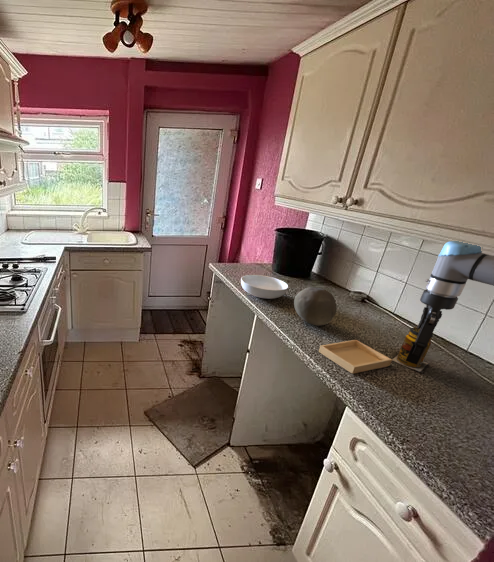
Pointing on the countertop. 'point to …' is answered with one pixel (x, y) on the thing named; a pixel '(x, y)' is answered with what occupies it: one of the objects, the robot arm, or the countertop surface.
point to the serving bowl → (263, 286)
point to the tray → (355, 356)
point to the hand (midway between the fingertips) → (411, 357)
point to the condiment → (406, 349)
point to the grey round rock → (315, 305)
